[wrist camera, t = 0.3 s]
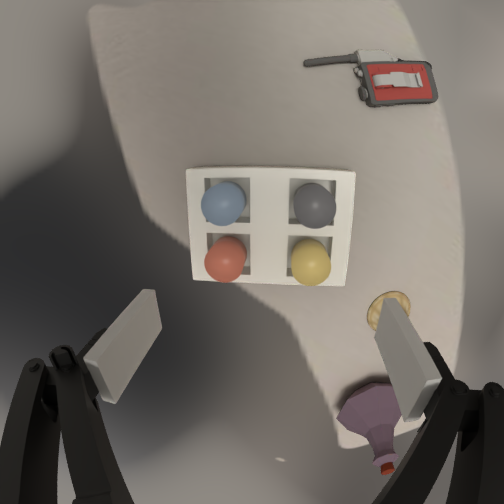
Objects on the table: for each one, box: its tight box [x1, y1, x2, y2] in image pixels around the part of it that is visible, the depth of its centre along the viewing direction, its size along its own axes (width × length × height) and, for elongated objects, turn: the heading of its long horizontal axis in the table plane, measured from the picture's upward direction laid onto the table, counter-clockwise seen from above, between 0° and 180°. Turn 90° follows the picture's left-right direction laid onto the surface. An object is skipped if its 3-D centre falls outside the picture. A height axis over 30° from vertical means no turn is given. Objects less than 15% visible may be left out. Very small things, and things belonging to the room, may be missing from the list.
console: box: [186, 166, 356, 286], centre depth 39 cm, size 16×22×4 cm
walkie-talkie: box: [304, 49, 438, 107], centre depth 30 cm, size 9×4×20 cm
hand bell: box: [367, 291, 410, 331], centre depth 37 cm, size 8×8×16 cm
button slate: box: [201, 181, 247, 226], centre depth 35 cm, size 5×5×4 cm
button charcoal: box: [293, 183, 336, 229], centre depth 34 cm, size 5×5×4 cm
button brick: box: [204, 236, 247, 282], centre depth 38 cm, size 5×5×4 cm
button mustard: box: [291, 239, 331, 286], centre depth 37 cm, size 5×5×4 cm
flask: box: [336, 382, 402, 475], centre depth 42 cm, size 16×16×20 cm
